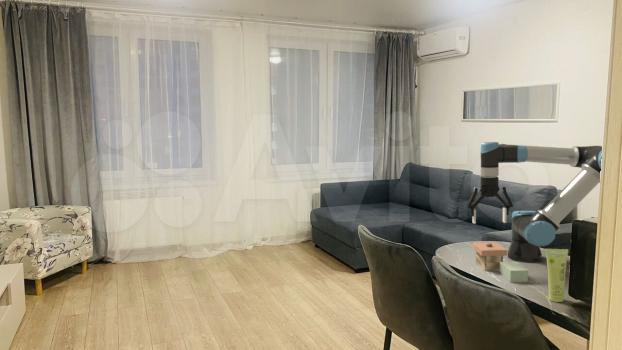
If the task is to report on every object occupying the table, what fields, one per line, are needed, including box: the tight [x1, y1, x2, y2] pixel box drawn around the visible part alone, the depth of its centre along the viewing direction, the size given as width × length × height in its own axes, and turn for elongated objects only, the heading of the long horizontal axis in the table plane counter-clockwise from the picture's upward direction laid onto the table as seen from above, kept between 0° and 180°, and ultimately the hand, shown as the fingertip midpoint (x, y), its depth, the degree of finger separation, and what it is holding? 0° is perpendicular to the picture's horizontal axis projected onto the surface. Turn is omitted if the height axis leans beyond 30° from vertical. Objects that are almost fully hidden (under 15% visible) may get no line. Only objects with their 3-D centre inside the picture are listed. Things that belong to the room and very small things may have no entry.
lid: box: [472, 241, 508, 257], centre depth 208 cm, size 11×13×4 cm
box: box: [475, 251, 504, 272], centre depth 209 cm, size 8×12×7 cm, turn 178°
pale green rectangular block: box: [499, 260, 529, 283], centre depth 194 cm, size 7×12×5 cm, turn 178°
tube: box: [544, 248, 569, 303], centre depth 167 cm, size 6×5×20 cm
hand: (489, 222), depth 207 cm, fingers open, 13 cm apart
